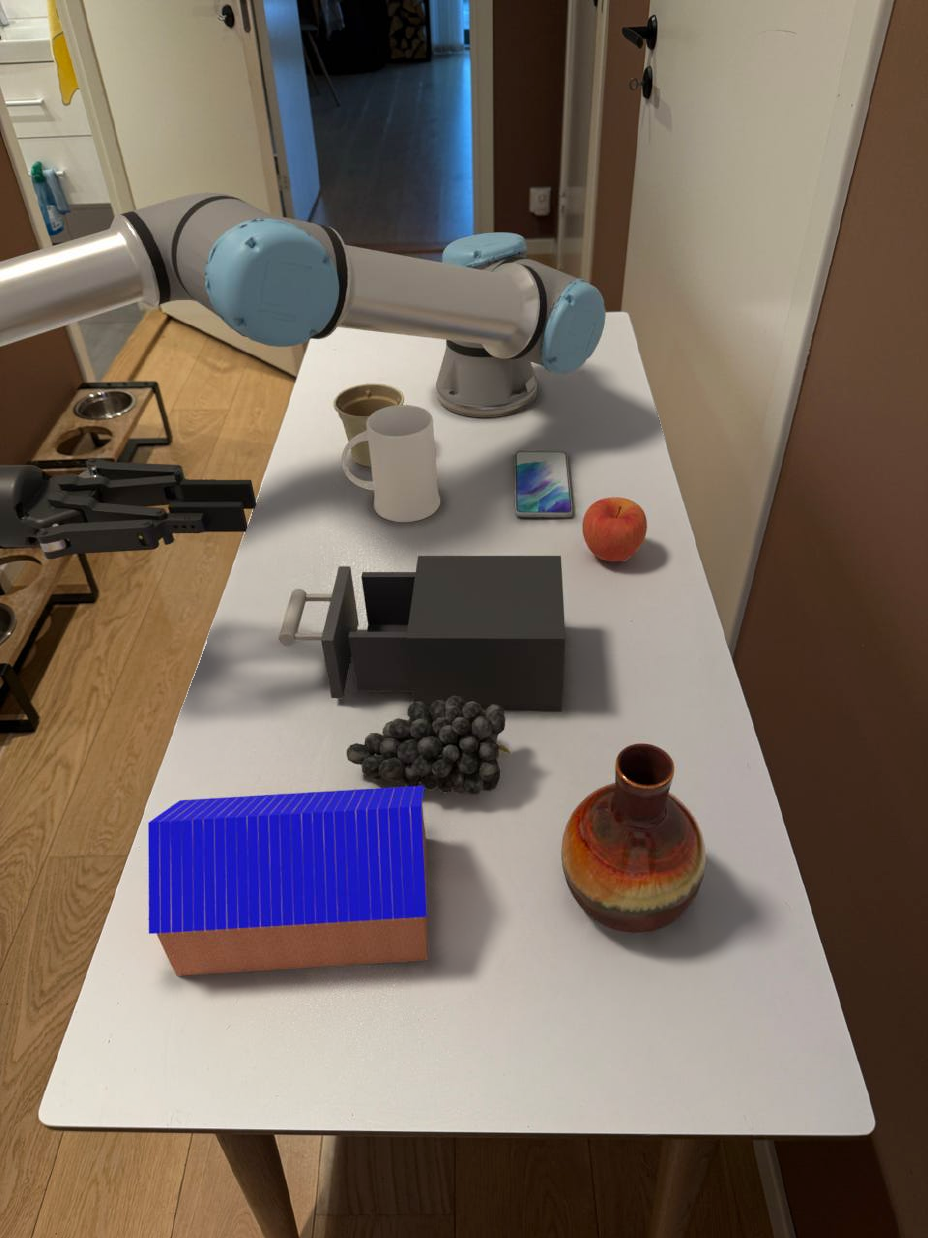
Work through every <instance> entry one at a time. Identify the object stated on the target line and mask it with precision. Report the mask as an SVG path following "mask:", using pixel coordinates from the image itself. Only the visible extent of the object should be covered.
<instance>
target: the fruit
mask: <svg viewBox="0 0 928 1238" xmlns="http://www.w3.org/2000/svg"><path fill="white" fill-rule="evenodd" d="M407 717H408V719H404V718H400V717H397V718H394V719H393V720H390V721H388V722H386V723H385V725H383V726H384V727H383V728H382V734H381V733H378V732H370V733H368V735H367V736H366V737H365V738H364V744H363V743H357V742H355V743H353V744H352V743H351V744H350V745H349V746H348V747H347V749H346V753H345V755H346V758H347V761H348V762H351V763H352V764H354V765H360V768H361V773H363V775H364V776H365V777H367V778H370V779H372V780H375V781H376V780H379V779H382V778H383V779H385V780H389V781H391V782H393V783H400V782H403V784H404V785H405V786H406V787H410V786H420V783H421V786H424V790H425V789H426V790H428V791H429V790H431V791H433V790H435V789H436V788H438V790H439V791H441V792H442V793H445V794H448V793H451V792H452V791H453V792H455V793H457V794H460V795H461V794H466V793H467V794H469V795H479V794H480V793H481V791H482V790H483V791H487V792H491V791H493V790H495V789H497V787H498V785H499V783H500V780H501V768H500V765H499V762H498V759H499V758H500V751H502V752H505V753H507V754H509V755H512V752H511V750H510V749H509V748H507V747H505V746H504V745H503V744H499V743H497V741H498V737H499V735H500V734H502V733H503V732H504V730H505V728H506V716H505V711H504V710H503V708H502V707H501V706H499V705H496V704H491V705H490V706H489V707H488V708H487V709H486V710H483V709H482V708H481V706H480V704H478V703H476V702H474V701H471V702H467V703H466V702H465V700H464V699H463V698H462V697H459V696H452V697H450V698H448V700H447V701H446V702H444V701H441V700H436V701H434V702H433V703H431V705H430V708H429V710H428V708H427V706H426V705H425V704H424V703H423V702H413V701H412V703H411V704H409V705H408V707H407Z"/></svg>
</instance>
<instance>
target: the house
mask: <svg viewBox="0 0 928 1238" xmlns="http://www.w3.org/2000/svg"><path fill="white" fill-rule="evenodd" d="M424 791H425V788H424V786H422V785H418V786H410V787H408V786H396V787H394V786H393V787H380V788H363V789H361V788H360V789H344V790H332V791H331V790H329V791H312V792H311V791H310V792H296V793H295V792H294V793H279V794H278V793H277V794H262V795H261V794H260V795H245V796H244V795H243V796H230V797H229V796H227V797H226V796H225V797H210V798H195V799H180V800H178V801H176V802H175V803H174V804H172V805H171V806H170V807H168V808H167V809H165V810H164V811H162V812H161V813H160V814H158V815H157V816H156V817H155V818H153V819H152V820H149V821H148V822H147V823H148V829H147V831H148V837H147V838H148V840H147V841H148V848H147V849H148V850H147V851H148V935H152V934H156V936H157V938H158V940H159V942H160V944H161V946H162V949H163V950H164V952H165V953H164V954H165V955H166V957H167V959H168V961H169V963H170V965H171V968H172V969H173V971H174V973H175V976H176V977H179V976H194V975H195V976H196V975H210V974H211V975H213V974H228V973H243V972H260V971H274V970H275V971H276V970H292V969H293V970H294V969H308V968H323V967H324V968H325V967H339V966H355V965H357V966H359V965H372V964H373V965H374V964H388V963H390V964H391V963H402V962H419V961H420V962H421V961H429V952H428V951H429V949H428V948H429V944H428V894H427V891H428V889H427V888H428V887H427V885H428V884H427V837H426V829H425V819H424V809H423V798H424V793H425V792H424Z"/></svg>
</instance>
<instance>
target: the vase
mask: <svg viewBox="0 0 928 1238" xmlns="http://www.w3.org/2000/svg"><path fill="white" fill-rule="evenodd" d="M614 764H615V765H614V766H615V767H614V777H615V779H614V780H615V782H612V783H609V784H606V785H603V786H602V787H599V788H597V789H596V790H594V791H592V792H590V793H589V794H587V796H586V797H585V798H583V799H582V800H581V802H579V804H578V805H577V806H576V808H575V809H574V810H573V811H572V813H571V814H570V817H569V818H568V820H567V821H566V825H565V828H564V831H563V834H562V839H561V849H560V856H561V867H562V872H563V875H564V879H565V882H566V884H567V887H568V889H569V891H570V894H571V895H572V897H573V899H574V900H575V902H576V904H578V905H579V908H581V909H582V910H583V912H585V913H586V915H587V916H589V917H590V918H592V920H594V921H595V922H597V923H599V924H600V925H602V926H604V927H606V928H608V929H611V930H614V931H618V932H622V933H629V934H643V933H650V932H654V931H657V930H660V929H662V928H663V929H664V928H665V927H666V926H669V925H670V924H672V923H673V922H674V921H675V920H677V919H679V918H680V917H681V916H682V915H683V914H684V913H685V912H686V910H688V908H689V907H690V906H691V905H692V903H693V902H694V899H695V898H696V896H697V895H698V893H699V890H700V888H701V886H702V883H703V880H704V876H705V871H706V865H707V864H706V863H707V857H706V855H707V854H706V845H705V840H704V836H703V833H702V831H701V827H700V825H699V824H698V821H697V820H696V818H695V816H694V815H693V813H692V812H691V810H690V808H688V807H687V806H686V805H685V803H684V802H682V801H681V800H680V799H679V798H678V797H677V796H676V795H675V794H673V793H671V792H670V790H671V786H672V783H673V779H674V775H675V763H674V760H673V758H672V757H671V755H670V754H669V752H666V750H665V749H663V748H661V747H659V746H657V745H654V744H650V743H644V742H643V743H642V742H639V743H633V744H630V745H628V746H625V747H623V749H622V750H620V751H619V752H618V754H617V757H616V759H615V763H614Z"/></svg>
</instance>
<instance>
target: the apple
mask: <svg viewBox="0 0 928 1238" xmlns="http://www.w3.org/2000/svg"><path fill="white" fill-rule="evenodd" d="M583 515H584V516H583V518H582V523H581V524H582V525H581V528H582V529H581V530H582V536H583V539H584V542H585V544H586V546H587V548H588V549H589V550H590V552H591V553H592V554H593V555H594V556H595V557H596V558H598V559H600V560H602V561H606V562H625V561H627V560H629V559H630V558H632V556H634V555H635V554H636V553H637V552H638V551H639V549H640V548H641V547H642V545H643V543H644V540H645V538H646V535H647V532H648V531H647V530H648V520H647V515H646V513H645V511H644V509H642V507H641V506H640V504H638V503H636V502H635V501H633V500H631V499H629V498H625V497H619V496H612V497H604V498H601V499H598V500H595V501H594V502H593V503H591V504H590V506H589V507H588V508H587V510H586V511H585V513H584V514H583Z"/></svg>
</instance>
